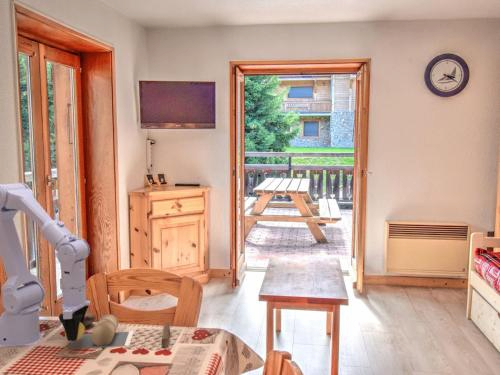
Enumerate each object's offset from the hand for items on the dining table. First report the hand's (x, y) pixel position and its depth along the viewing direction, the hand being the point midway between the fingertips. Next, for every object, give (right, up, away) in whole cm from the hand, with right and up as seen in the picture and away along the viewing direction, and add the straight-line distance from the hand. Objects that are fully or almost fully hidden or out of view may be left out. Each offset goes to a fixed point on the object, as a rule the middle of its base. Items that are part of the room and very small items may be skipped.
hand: (74, 336), depth 120 cm
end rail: (+23, -3, +7) cm, 24 cm away
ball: (0, -1, 0) cm, 1 cm away
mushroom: (-4, -3, +14) cm, 15 cm away
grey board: (+6, -3, +5) cm, 8 cm away
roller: (+7, -3, +5) cm, 9 cm away
